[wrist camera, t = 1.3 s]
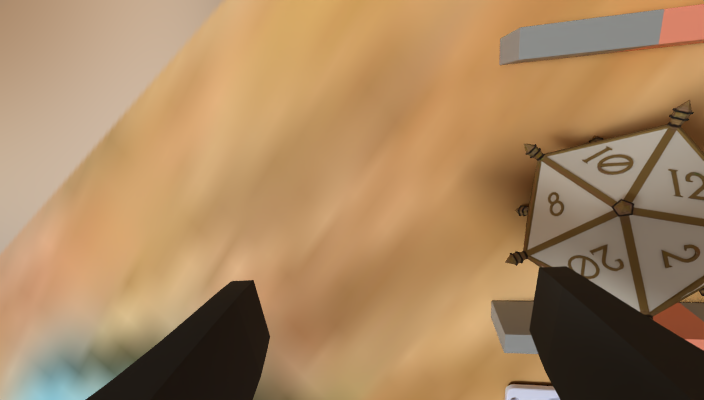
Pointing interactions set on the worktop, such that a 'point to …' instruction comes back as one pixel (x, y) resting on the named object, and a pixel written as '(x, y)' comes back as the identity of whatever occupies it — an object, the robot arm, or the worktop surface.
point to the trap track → (590, 39)
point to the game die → (623, 214)
